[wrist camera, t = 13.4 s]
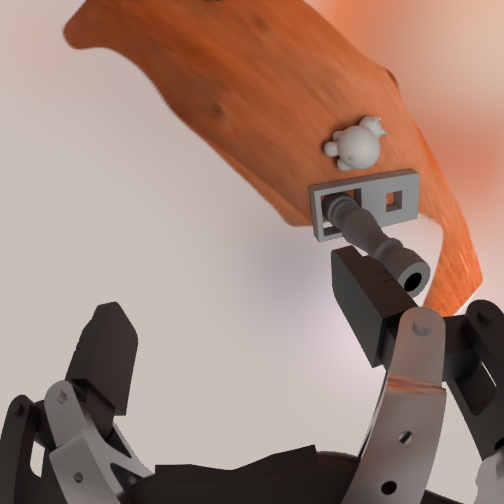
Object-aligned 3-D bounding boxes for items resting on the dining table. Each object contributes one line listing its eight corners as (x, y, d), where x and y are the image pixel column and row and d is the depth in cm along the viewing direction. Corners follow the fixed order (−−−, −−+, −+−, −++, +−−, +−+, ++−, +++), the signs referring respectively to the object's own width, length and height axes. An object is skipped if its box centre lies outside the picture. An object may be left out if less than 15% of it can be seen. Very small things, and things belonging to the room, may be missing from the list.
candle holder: (354, 193, 50) (439, 261, 28) (345, 222, 52) (418, 302, 31) (325, 187, 48) (405, 257, 27) (317, 218, 51) (384, 303, 30)
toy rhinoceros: (369, 136, 47) (404, 133, 39) (339, 177, 46) (375, 179, 38) (349, 107, 43) (384, 99, 36) (315, 147, 42) (351, 142, 35)
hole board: (308, 186, 48) (314, 191, 45) (410, 169, 48) (419, 173, 46) (314, 235, 53) (319, 242, 50) (409, 212, 53) (417, 218, 51)
